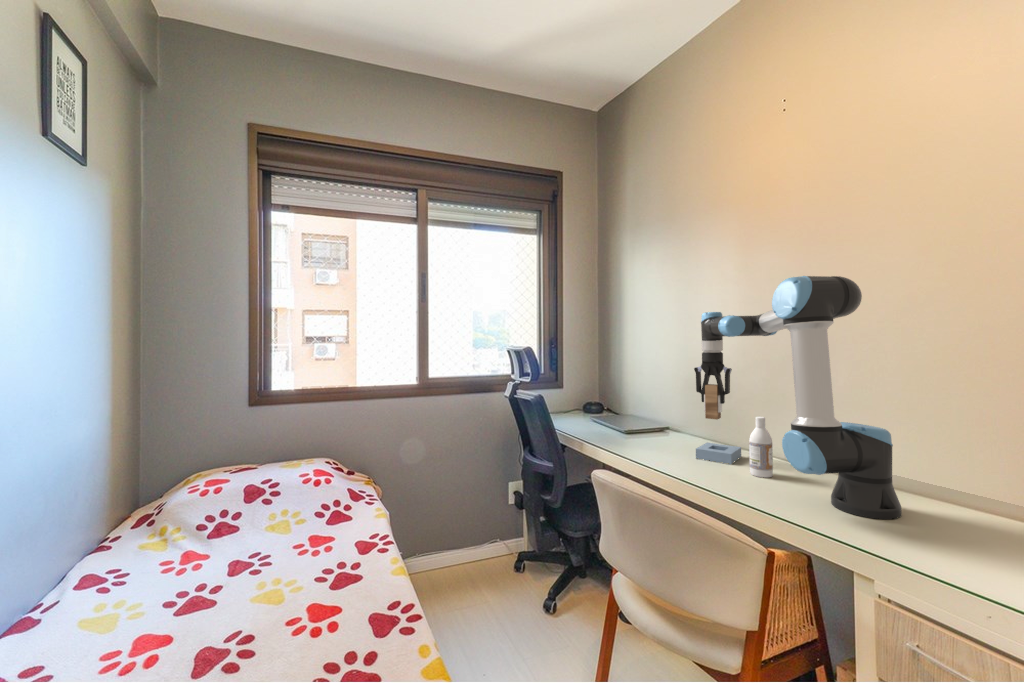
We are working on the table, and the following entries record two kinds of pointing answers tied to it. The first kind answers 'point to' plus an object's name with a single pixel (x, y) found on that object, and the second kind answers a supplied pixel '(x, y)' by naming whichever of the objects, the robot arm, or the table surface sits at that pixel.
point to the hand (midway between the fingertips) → (713, 411)
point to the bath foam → (761, 450)
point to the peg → (711, 402)
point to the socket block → (718, 452)
